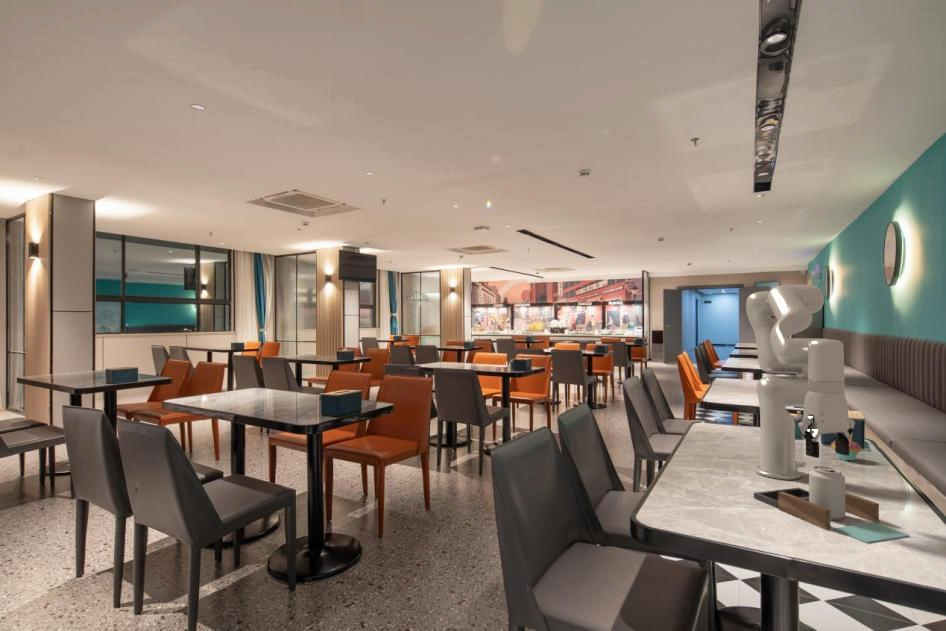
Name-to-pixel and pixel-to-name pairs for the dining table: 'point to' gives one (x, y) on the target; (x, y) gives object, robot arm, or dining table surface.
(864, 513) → the wooden corridor walls
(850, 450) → the cupcake
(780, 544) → the dining table surface
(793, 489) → the tray
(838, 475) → the can
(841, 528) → the pad
